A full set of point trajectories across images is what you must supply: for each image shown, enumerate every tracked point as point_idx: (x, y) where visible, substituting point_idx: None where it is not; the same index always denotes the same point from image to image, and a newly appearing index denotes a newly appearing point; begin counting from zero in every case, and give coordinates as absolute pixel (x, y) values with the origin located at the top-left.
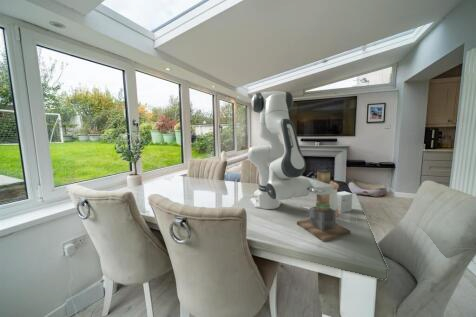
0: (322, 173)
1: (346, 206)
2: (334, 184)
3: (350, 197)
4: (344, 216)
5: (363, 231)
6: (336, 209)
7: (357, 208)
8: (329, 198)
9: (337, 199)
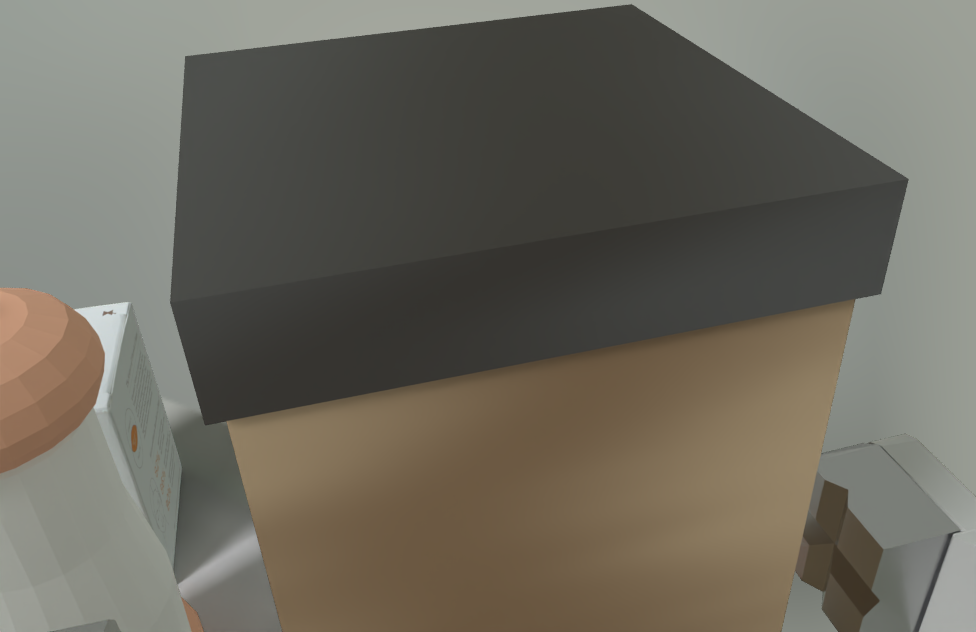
0: (753, 333)
1: (161, 474)
2: (42, 336)
3: (140, 353)
4: (267, 603)
5: None
6: (189, 624)
7: (166, 400)
8: (73, 596)
9: None
